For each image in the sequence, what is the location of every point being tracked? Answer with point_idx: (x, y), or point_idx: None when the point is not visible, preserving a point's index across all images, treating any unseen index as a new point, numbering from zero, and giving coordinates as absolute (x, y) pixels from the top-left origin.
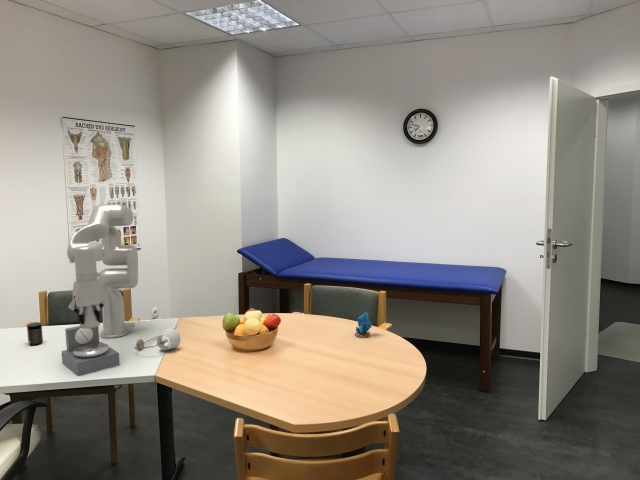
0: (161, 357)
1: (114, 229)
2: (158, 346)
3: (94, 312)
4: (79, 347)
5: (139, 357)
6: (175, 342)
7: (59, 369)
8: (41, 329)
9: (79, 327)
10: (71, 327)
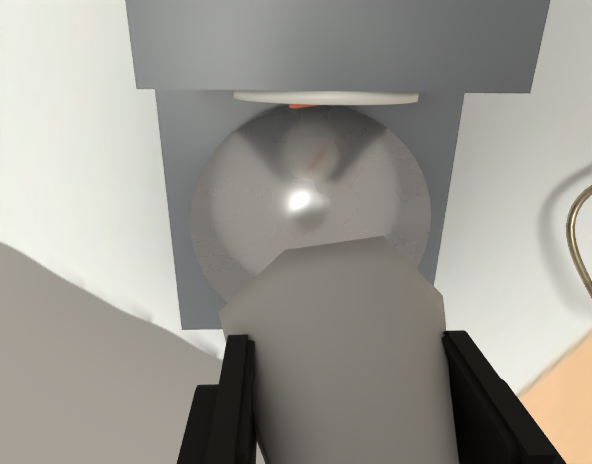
0: (588, 327)
1: None
2: None
3: (489, 453)
4: (256, 141)
5: (528, 259)
6: None
7: (135, 131)
8: None
9: (296, 64)
10: None
